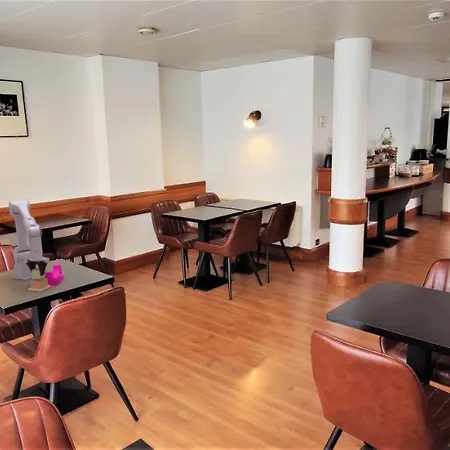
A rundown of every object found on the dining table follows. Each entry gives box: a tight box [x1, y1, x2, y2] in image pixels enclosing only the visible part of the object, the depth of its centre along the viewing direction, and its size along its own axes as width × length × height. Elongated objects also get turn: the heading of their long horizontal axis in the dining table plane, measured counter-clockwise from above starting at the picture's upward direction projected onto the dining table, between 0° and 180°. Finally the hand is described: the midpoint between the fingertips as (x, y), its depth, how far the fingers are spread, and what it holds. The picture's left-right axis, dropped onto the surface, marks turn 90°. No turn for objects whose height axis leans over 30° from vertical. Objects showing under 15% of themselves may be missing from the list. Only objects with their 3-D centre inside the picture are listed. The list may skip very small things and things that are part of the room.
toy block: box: [43, 264, 65, 287], centre depth 247 cm, size 15×6×8 cm, turn 0°
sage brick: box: [31, 267, 45, 280], centre depth 236 cm, size 4×4×4 cm
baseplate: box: [27, 285, 52, 292], centre depth 237 cm, size 8×8×1 cm
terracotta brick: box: [29, 277, 48, 289], centre depth 237 cm, size 6×6×4 cm
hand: (38, 274), depth 236 cm, fingers closed on sage brick, 5 cm apart
